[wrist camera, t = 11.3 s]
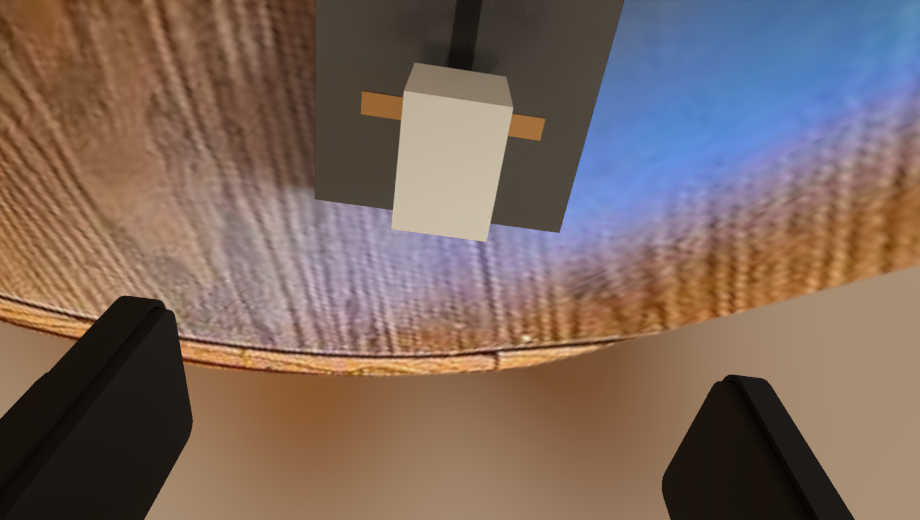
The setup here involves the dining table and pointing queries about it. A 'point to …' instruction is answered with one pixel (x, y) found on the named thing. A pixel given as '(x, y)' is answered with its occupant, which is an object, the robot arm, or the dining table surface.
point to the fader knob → (450, 151)
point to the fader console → (472, 49)
